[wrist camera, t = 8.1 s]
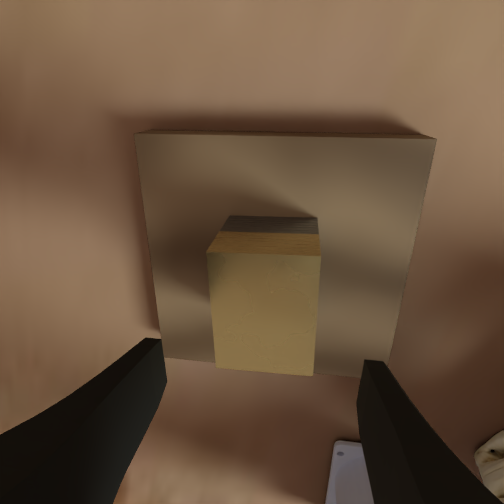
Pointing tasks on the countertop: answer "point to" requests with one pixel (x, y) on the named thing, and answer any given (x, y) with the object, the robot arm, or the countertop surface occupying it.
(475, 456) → the storage basket
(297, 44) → the countertop surface
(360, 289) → the walnut stand
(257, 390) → the countertop surface
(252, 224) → the block
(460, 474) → the robot arm
